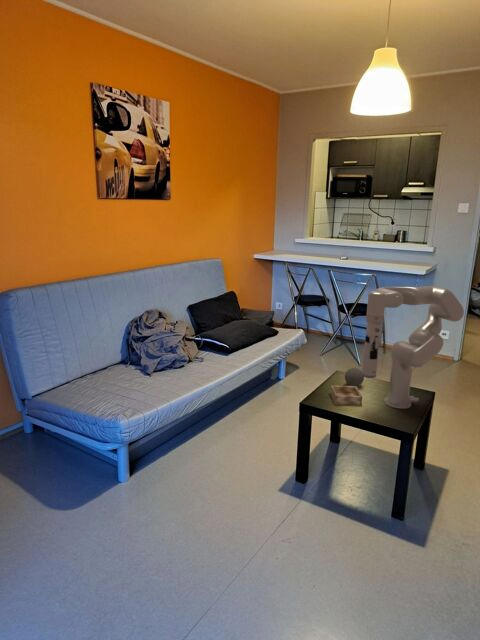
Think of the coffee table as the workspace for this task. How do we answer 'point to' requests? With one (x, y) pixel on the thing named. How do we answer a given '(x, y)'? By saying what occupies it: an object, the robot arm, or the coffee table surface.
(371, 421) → the coffee table surface
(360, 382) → the decorative ball
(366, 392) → the coffee table surface
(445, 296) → the robot arm
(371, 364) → the travel mug
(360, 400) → the open box
